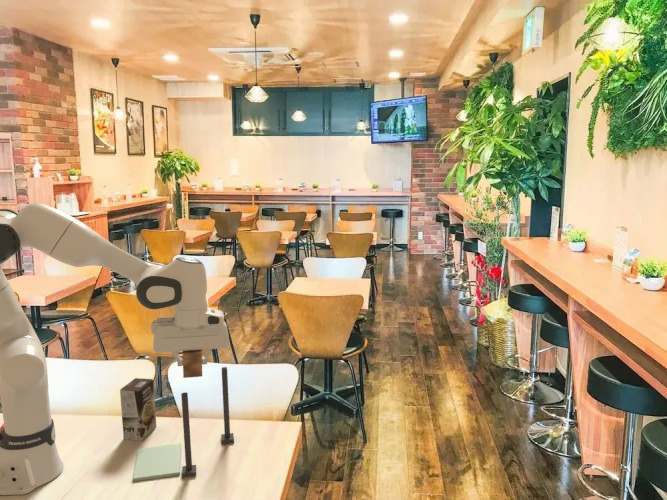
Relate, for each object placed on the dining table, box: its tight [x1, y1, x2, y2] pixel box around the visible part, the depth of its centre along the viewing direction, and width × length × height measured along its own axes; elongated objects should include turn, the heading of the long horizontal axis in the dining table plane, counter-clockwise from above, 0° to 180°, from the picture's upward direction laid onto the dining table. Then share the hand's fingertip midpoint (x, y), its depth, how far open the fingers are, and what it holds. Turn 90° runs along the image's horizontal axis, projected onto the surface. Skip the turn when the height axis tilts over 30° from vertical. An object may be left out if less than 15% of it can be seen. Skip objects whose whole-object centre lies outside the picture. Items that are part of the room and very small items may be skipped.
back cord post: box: [220, 366, 235, 445], centre depth 166 cm, size 4×4×23 cm
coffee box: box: [119, 377, 157, 442], centre depth 172 cm, size 9×6×16 cm
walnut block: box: [182, 350, 203, 379], centre depth 154 cm, size 5×5×7 cm
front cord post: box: [180, 392, 197, 479], centre depth 150 cm, size 4×4×23 cm
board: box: [132, 443, 182, 482], centre depth 157 cm, size 12×15×1 cm
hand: (192, 364), depth 154 cm, fingers closed on walnut block, 5 cm apart
